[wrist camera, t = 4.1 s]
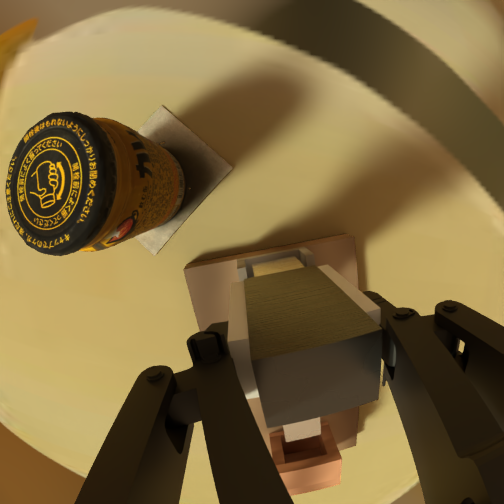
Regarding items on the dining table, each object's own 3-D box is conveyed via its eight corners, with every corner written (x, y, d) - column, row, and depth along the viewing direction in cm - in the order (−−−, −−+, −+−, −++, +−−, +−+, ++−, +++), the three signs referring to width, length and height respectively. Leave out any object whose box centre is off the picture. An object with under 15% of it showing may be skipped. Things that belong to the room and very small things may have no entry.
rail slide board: (346, 233, 21) (389, 250, 14) (351, 436, 25) (370, 478, 19) (187, 263, 20) (166, 294, 14) (246, 459, 25) (249, 505, 19)
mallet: (303, 254, 18) (382, 328, 8) (320, 410, 21) (357, 510, 10) (242, 266, 18) (250, 360, 8) (274, 420, 21) (293, 526, 10)
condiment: (90, 192, 19) (-26, 200, 7) (161, 105, 18) (88, 24, 6) (155, 255, 20) (72, 325, 8) (233, 168, 19) (228, 130, 8)
